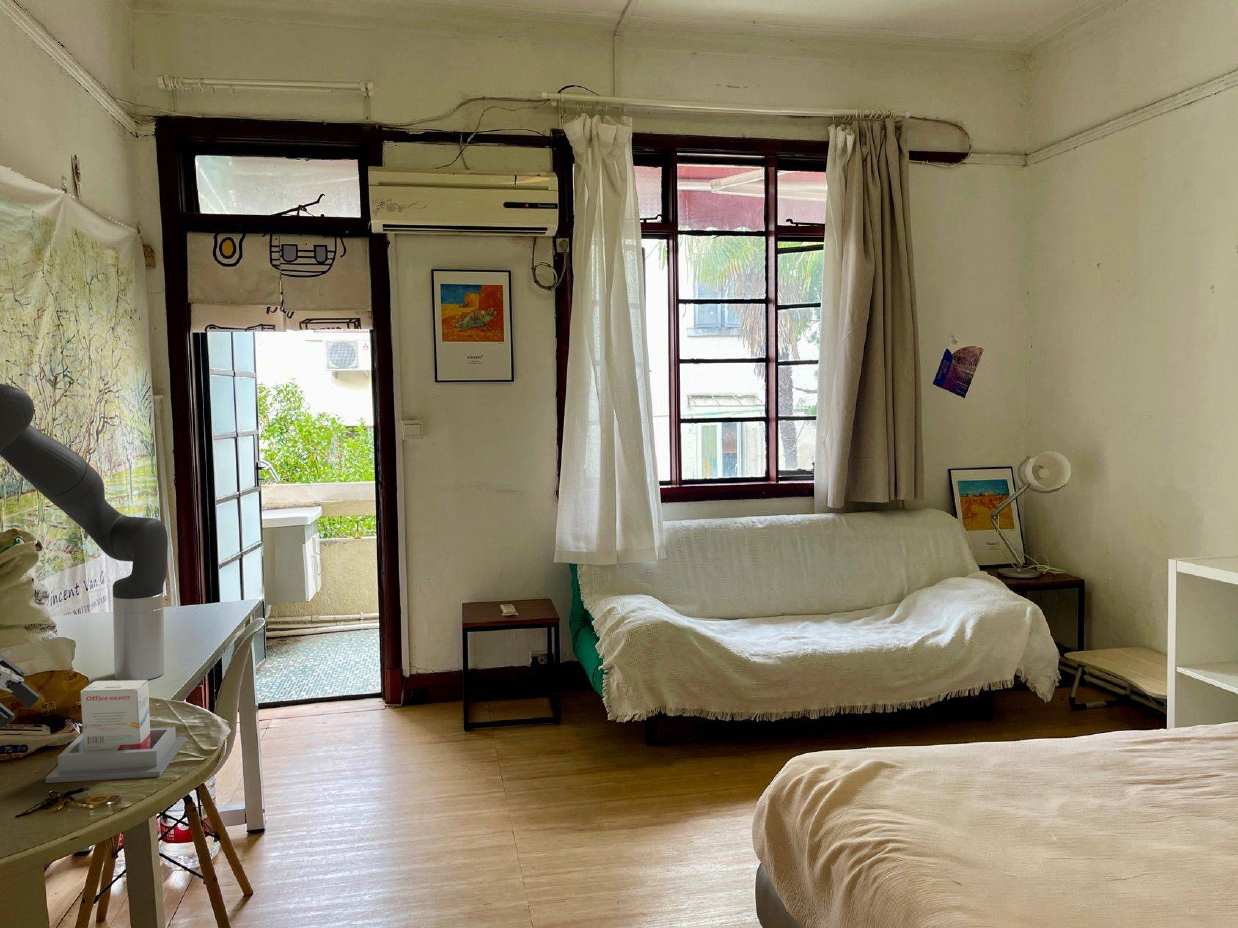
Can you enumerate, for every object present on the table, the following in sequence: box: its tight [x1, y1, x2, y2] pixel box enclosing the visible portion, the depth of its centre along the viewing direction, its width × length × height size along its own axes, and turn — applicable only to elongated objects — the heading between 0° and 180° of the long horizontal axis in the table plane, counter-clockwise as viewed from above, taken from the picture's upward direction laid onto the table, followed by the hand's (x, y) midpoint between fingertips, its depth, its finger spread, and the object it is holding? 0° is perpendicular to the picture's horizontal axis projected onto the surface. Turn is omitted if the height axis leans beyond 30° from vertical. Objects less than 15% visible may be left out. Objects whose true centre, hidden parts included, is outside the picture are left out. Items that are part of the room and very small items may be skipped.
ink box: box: [79, 679, 151, 752], centre depth 141 cm, size 9×5×12 cm, turn 98°
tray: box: [45, 726, 187, 784], centre depth 141 cm, size 14×16×3 cm
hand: (23, 712), depth 138 cm, fingers open, 8 cm apart
